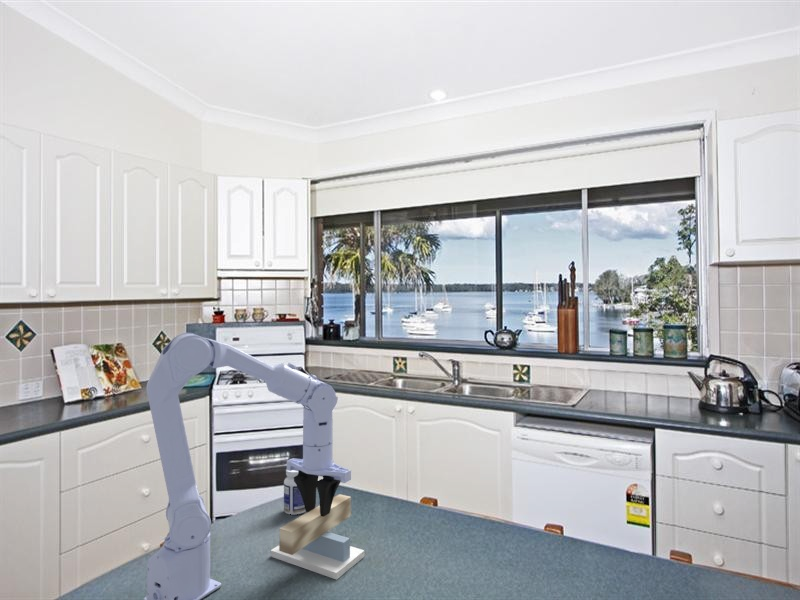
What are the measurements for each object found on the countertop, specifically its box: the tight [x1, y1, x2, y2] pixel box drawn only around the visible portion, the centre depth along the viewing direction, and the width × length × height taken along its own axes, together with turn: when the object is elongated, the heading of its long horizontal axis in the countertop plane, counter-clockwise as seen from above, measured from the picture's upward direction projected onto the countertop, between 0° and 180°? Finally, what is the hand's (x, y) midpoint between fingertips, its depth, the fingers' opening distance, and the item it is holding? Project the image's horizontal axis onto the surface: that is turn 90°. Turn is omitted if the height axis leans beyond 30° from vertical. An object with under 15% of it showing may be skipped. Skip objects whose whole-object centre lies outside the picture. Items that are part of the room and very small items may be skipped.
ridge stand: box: [270, 531, 366, 580], centre depth 93 cm, size 9×16×5 cm, turn 61°
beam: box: [278, 493, 352, 555], centre depth 93 cm, size 18×3×4 cm, turn 151°
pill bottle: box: [283, 468, 307, 516], centre depth 114 cm, size 6×6×10 cm
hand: (317, 512), depth 93 cm, fingers open, 3 cm apart
